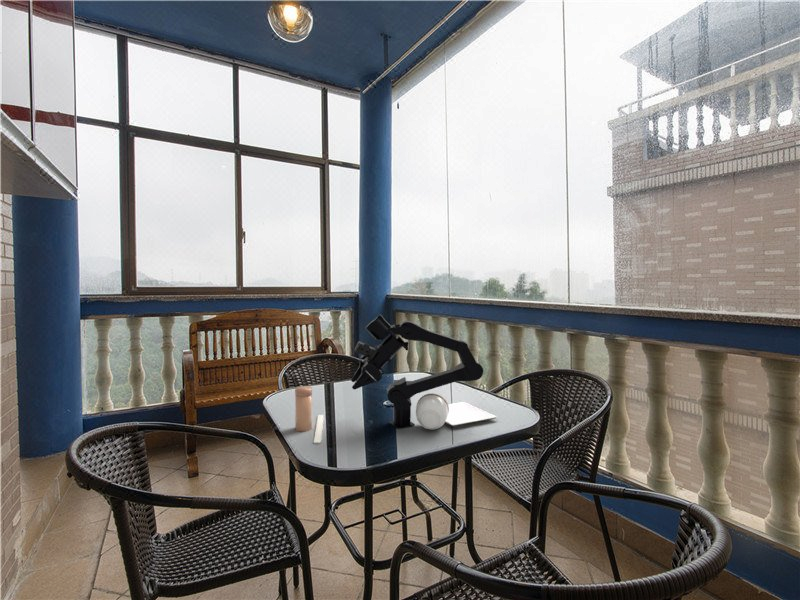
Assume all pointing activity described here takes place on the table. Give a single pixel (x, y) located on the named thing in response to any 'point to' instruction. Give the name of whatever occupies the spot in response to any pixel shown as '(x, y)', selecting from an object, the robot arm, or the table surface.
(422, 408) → the white rounded piece
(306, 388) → the tumbler
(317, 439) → the line
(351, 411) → the table surface
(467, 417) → the plate
